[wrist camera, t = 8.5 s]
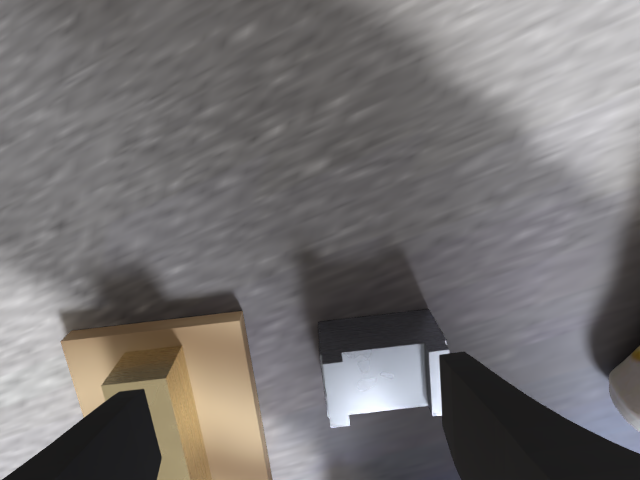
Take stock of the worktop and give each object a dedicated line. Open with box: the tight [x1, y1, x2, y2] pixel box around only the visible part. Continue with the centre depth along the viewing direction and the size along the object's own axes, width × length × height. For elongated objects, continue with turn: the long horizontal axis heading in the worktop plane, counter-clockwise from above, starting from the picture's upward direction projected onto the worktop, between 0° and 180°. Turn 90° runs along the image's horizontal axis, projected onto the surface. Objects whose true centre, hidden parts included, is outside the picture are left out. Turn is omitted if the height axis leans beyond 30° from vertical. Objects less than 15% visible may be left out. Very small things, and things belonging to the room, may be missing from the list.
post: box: [318, 309, 449, 428], centre depth 21 cm, size 3×5×4 cm, turn 97°
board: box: [61, 311, 272, 480], centre depth 24 cm, size 16×8×1 cm, turn 7°
